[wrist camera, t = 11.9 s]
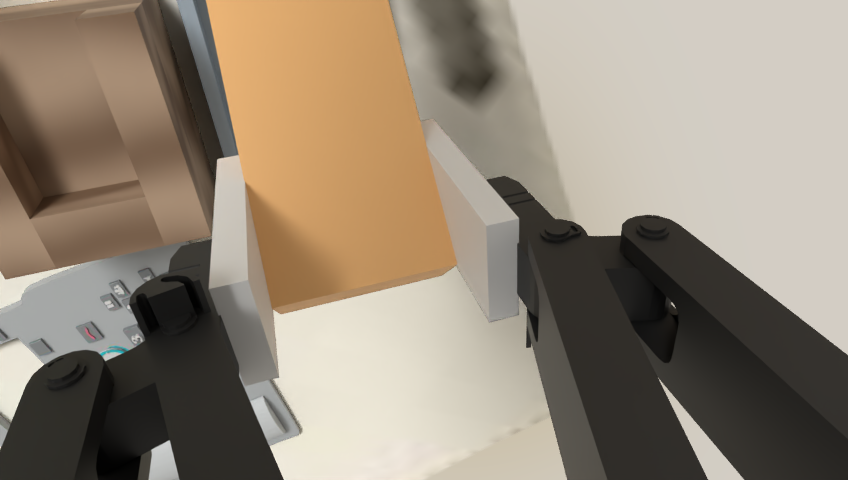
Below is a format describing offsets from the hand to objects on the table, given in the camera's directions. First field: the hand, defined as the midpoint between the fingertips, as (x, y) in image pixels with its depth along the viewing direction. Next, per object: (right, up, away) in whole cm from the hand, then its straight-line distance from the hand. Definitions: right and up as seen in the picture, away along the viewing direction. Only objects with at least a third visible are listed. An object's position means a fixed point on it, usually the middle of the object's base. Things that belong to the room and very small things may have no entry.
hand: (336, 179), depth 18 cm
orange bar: (-1, +4, +1) cm, 4 cm away
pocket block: (-17, +6, +16) cm, 24 cm away
